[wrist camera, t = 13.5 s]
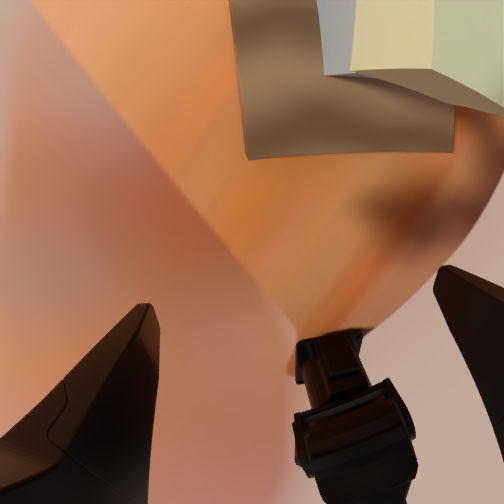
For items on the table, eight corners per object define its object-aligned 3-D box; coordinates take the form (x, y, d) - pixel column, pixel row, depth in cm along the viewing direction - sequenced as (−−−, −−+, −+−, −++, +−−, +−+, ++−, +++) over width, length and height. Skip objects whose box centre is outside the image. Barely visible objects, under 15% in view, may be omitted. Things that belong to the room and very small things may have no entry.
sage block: (445, 102, 10) (530, 126, 6) (349, 71, 9) (430, 68, 5) (452, 10, 8) (532, 5, 3) (357, -34, 7) (428, -75, 3)
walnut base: (435, 145, 18) (452, 152, 16) (245, 153, 18) (248, 160, 16) (423, -27, 11) (439, -32, 9) (223, -52, 10) (223, -66, 9)
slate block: (402, 81, 14) (457, 86, 10) (324, 75, 14) (366, 72, 9) (395, 6, 11) (447, -8, 7) (315, -6, 11) (352, -36, 7)
